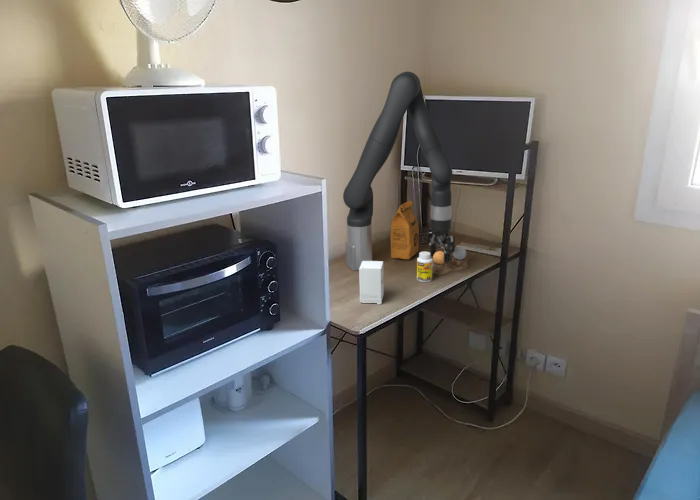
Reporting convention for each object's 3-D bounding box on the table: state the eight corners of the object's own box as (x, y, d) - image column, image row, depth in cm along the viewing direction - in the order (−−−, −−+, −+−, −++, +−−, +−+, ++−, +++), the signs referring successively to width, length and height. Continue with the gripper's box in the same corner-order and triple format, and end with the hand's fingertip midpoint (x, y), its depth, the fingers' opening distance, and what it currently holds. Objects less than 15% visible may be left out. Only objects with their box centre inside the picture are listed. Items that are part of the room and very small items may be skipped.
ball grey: (458, 262, 202) (458, 250, 200) (449, 258, 206) (450, 246, 204) (468, 260, 204) (469, 247, 202) (460, 256, 208) (461, 244, 207)
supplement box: (381, 304, 177) (381, 268, 173) (359, 303, 178) (358, 268, 174) (384, 295, 184) (383, 260, 180) (362, 294, 185) (361, 260, 181)
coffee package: (422, 252, 222) (423, 200, 215) (409, 262, 213) (409, 208, 205) (400, 249, 227) (400, 198, 220) (387, 258, 217) (386, 205, 210)
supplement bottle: (415, 282, 194) (415, 255, 191) (418, 276, 199) (418, 250, 196) (430, 283, 192) (431, 256, 189) (433, 277, 197) (434, 251, 194)
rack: (437, 275, 199) (438, 266, 198) (430, 271, 203) (430, 262, 202) (468, 268, 205) (468, 259, 204) (460, 264, 209) (460, 255, 208)
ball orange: (449, 264, 200) (449, 251, 199) (438, 267, 198) (438, 254, 197) (441, 260, 204) (441, 248, 203) (430, 263, 202) (430, 250, 201)
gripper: (461, 219, 191) (460, 262, 196) (437, 210, 203) (436, 251, 208) (444, 223, 188) (443, 266, 193) (420, 213, 200) (420, 255, 205)
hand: (439, 258), depth 201 cm, fingers open, 8 cm apart
